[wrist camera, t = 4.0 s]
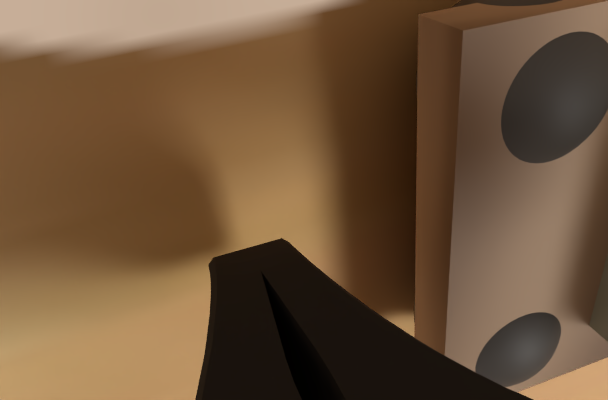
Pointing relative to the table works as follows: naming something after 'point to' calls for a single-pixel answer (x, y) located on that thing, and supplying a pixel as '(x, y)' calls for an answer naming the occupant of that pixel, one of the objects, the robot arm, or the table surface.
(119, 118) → the table surface
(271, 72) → the table surface
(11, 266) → the table surface
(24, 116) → the table surface
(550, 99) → the square caster platform
